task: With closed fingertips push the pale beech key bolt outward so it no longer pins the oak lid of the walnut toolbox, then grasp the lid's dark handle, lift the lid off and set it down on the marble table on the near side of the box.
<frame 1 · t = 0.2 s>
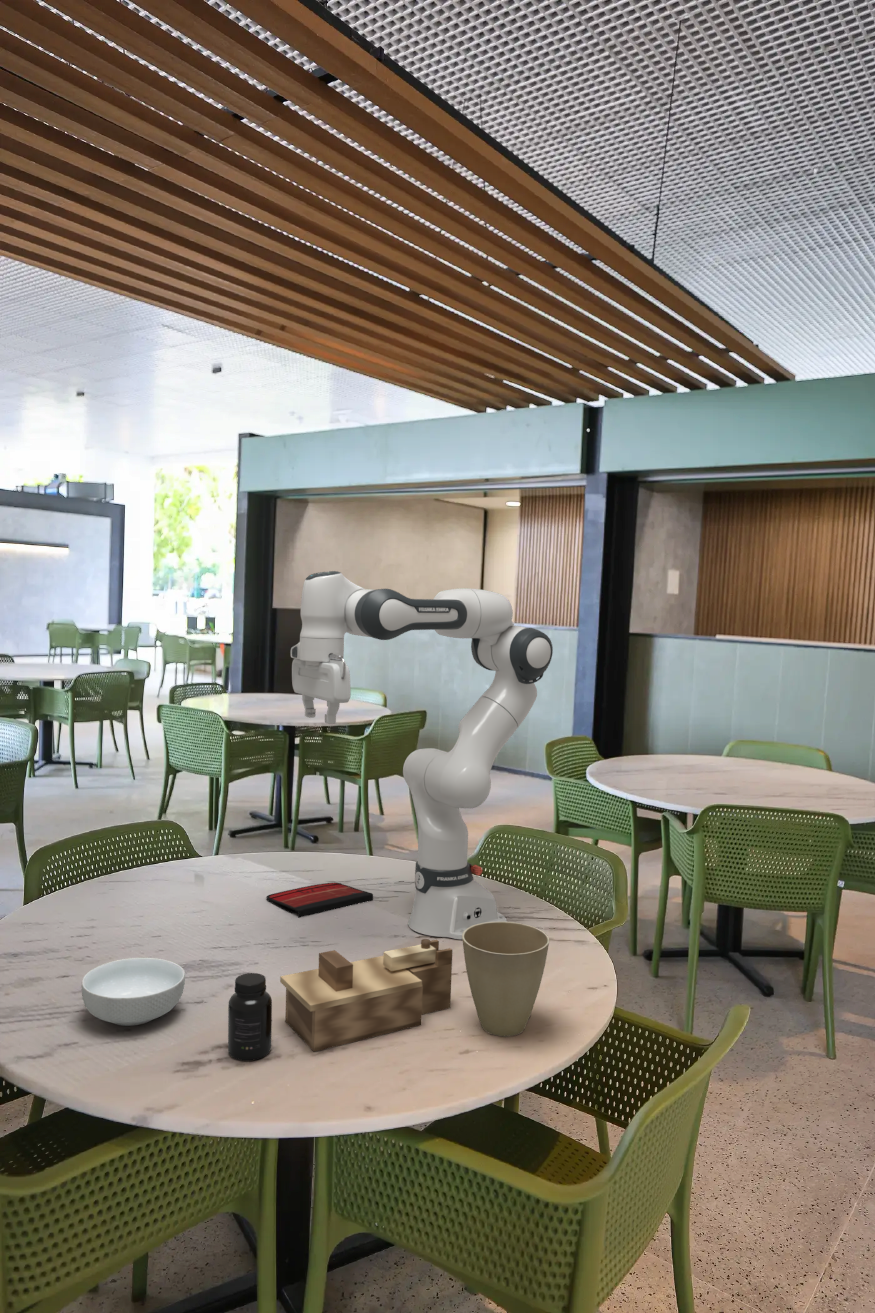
hand: (319, 720, 187), 48 cm above the table, fingers open, 8 cm apart
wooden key: (409, 953, 164), point 10 cm above the table, slide at 0.0 cm
lid: (351, 984, 158), point 7 cm above the table, touching toolbox
cereal bowl: (133, 1017, 159), on the table
binder: (318, 902, 222), on the table
plant pot: (501, 1028, 160), on the table
toolbox: (353, 1023, 159), on the table
supplement bottle: (249, 1052, 148), on the table
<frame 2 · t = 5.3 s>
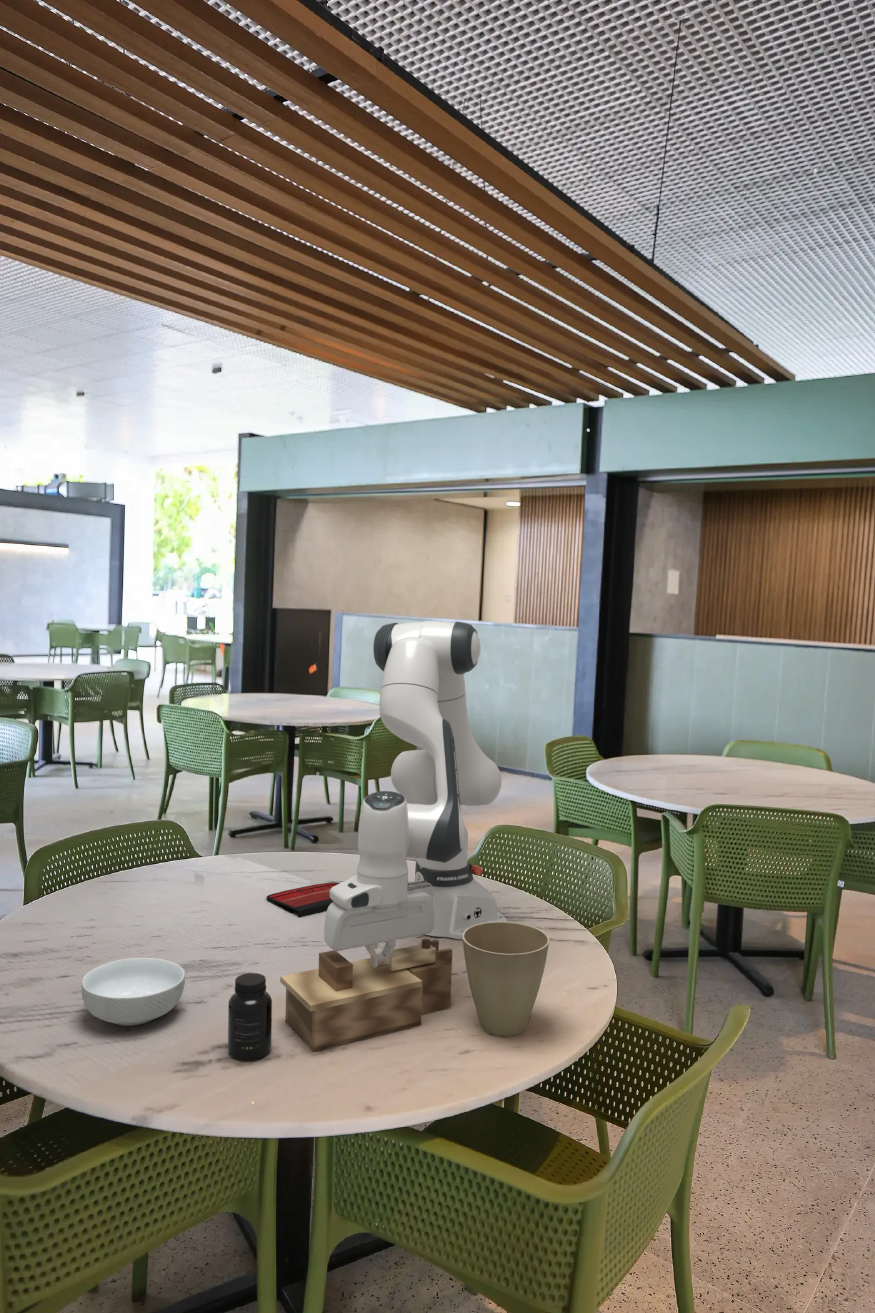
hand: (379, 965, 161), 9 cm above the table, fingers closed
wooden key: (410, 953, 164), point 10 cm above the table, slide at 0.1 cm, touching gripper
everything else where it was.
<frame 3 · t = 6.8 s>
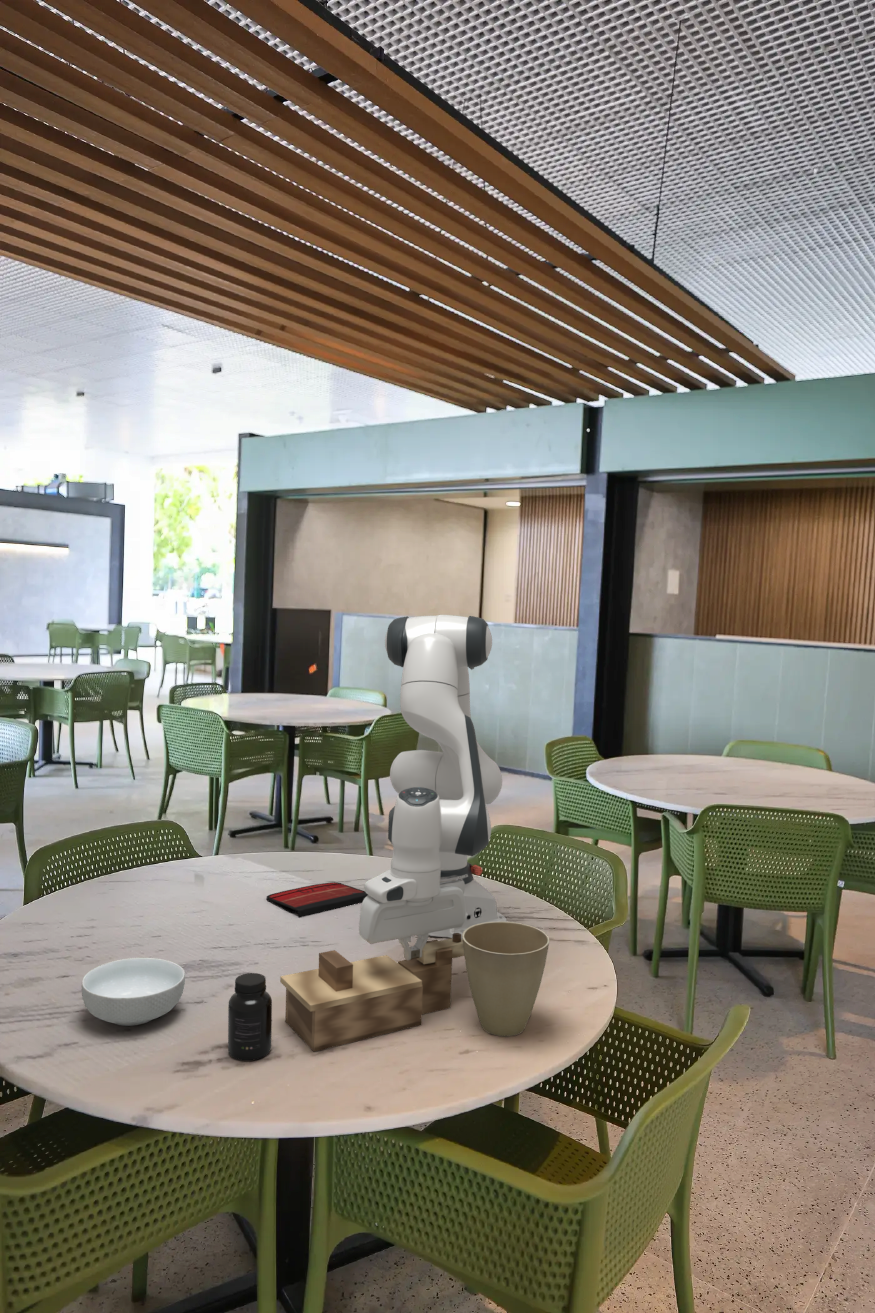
hand: (412, 958, 164), 9 cm above the table, fingers closed
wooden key: (441, 947, 167), point 10 cm above the table, slide at 6.6 cm, touching gripper
everything else where it was.
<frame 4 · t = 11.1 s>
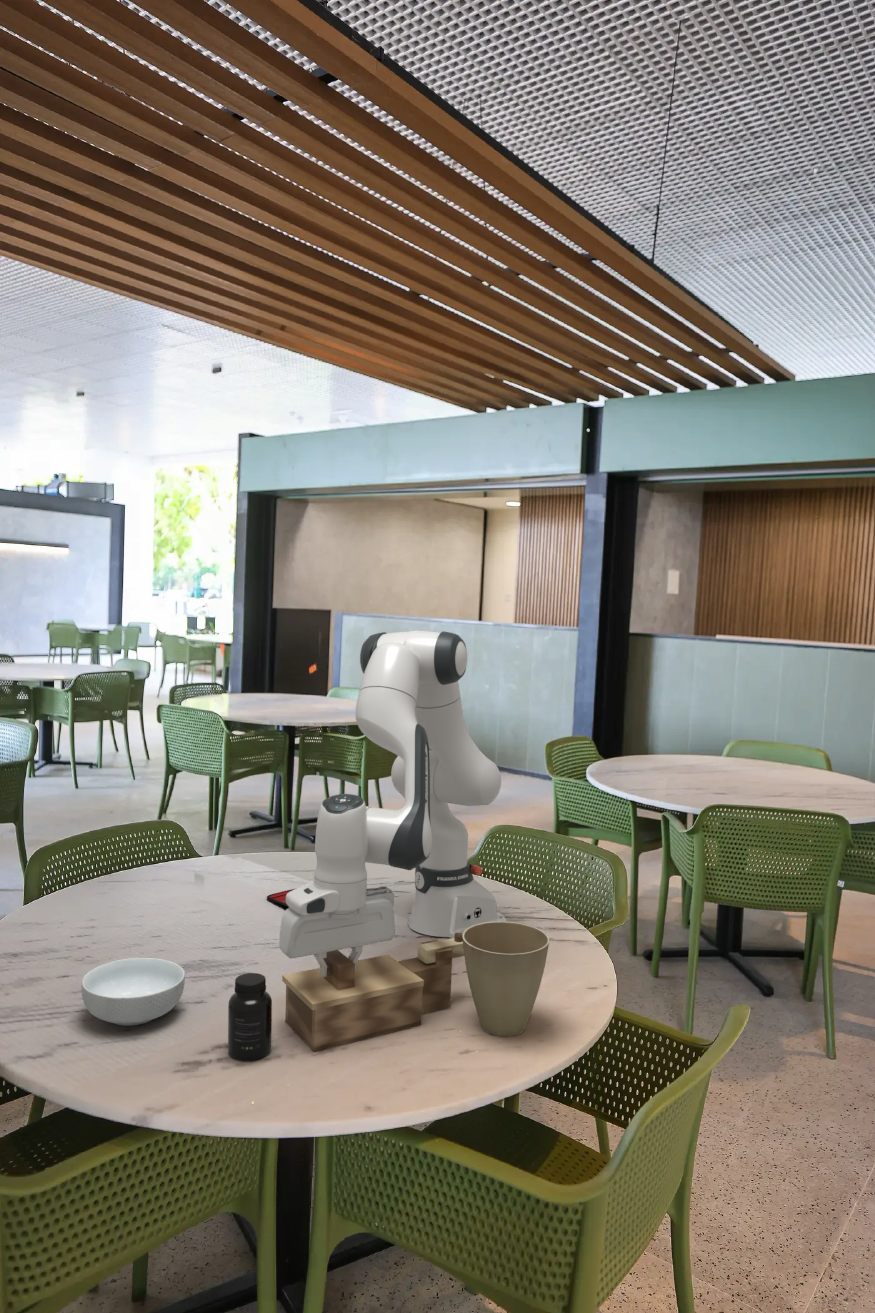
hand: (337, 973, 157), 9 cm above the table, fingers open, 3 cm apart
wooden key: (443, 946, 168), point 10 cm above the table, slide at 7.1 cm
lid: (352, 983, 158), point 7 cm above the table, touching gripper, toolbox
everything else where it was.
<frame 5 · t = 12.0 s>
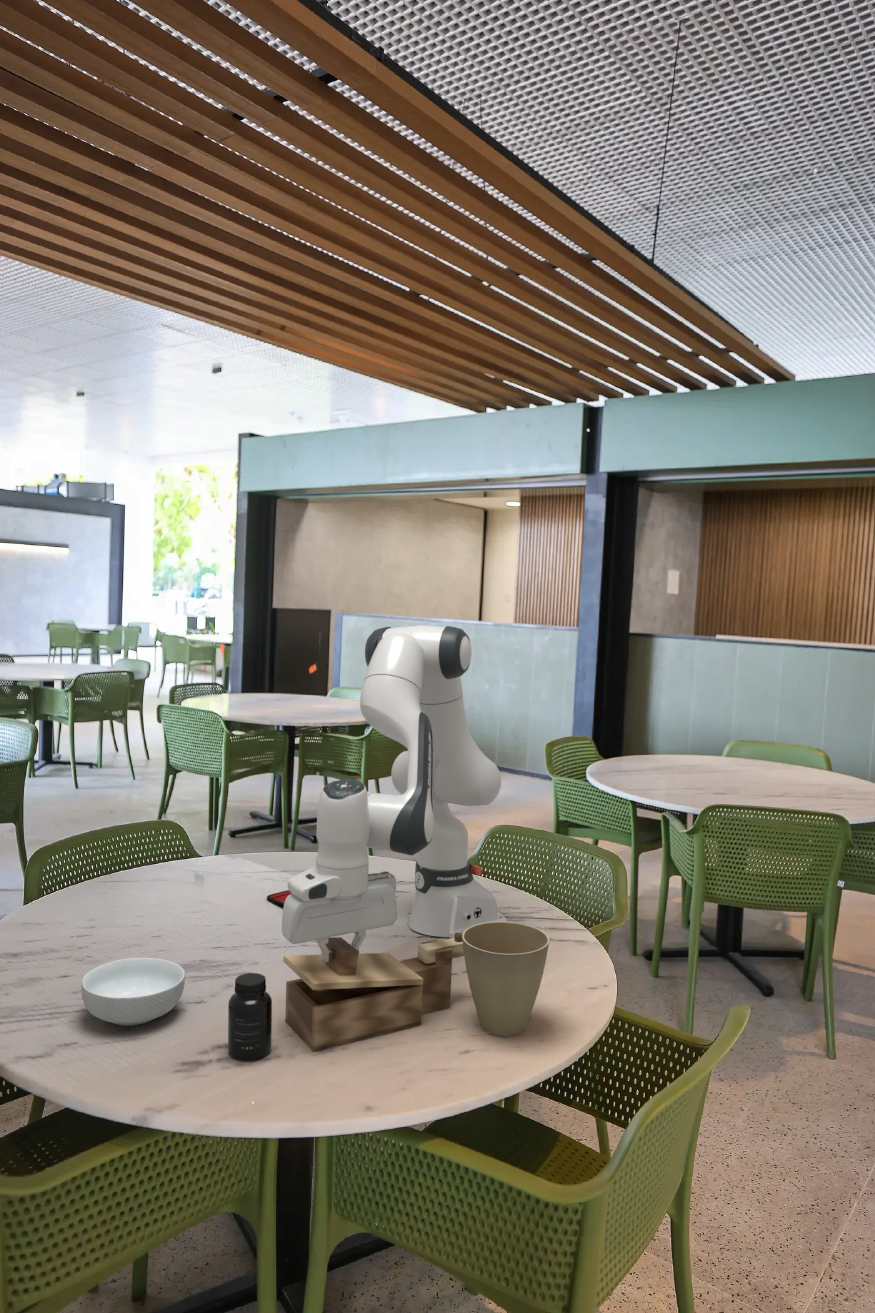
hand: (340, 958, 157), 12 cm above the table, fingers closed on lid, 3 cm apart
lid: (352, 973, 158), point 9 cm above the table, tilted 9°, touching gripper
everything else where it was.
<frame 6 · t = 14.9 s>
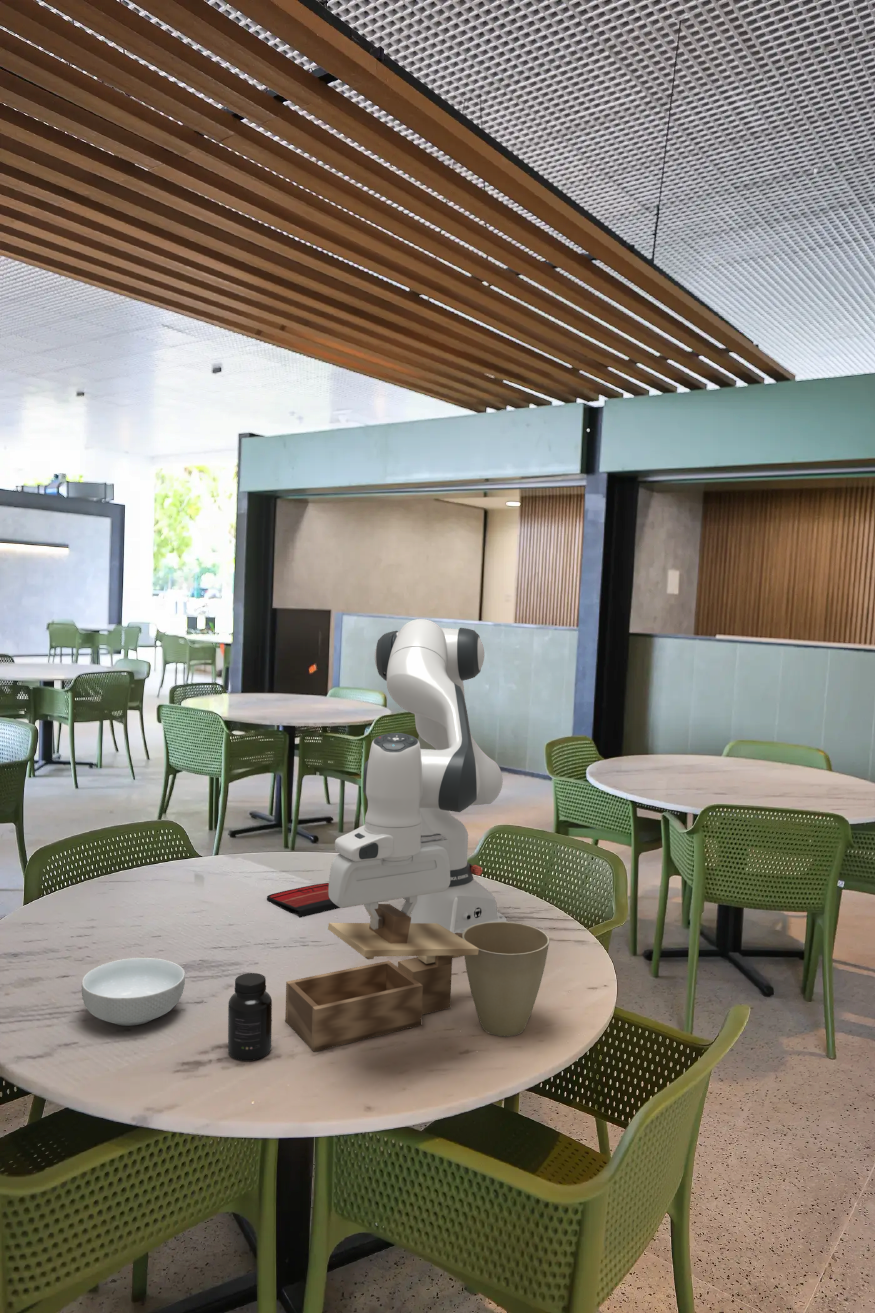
hand: (390, 925, 146), 22 cm above the table, fingers closed on lid, 3 cm apart
lid: (402, 942, 147), point 19 cm above the table, tilted 9°, touching gripper
everything else where it was.
when the fingers open (5 cm above the table, at t = 18.0 s): lid stays where it is, point 1 cm above the table.
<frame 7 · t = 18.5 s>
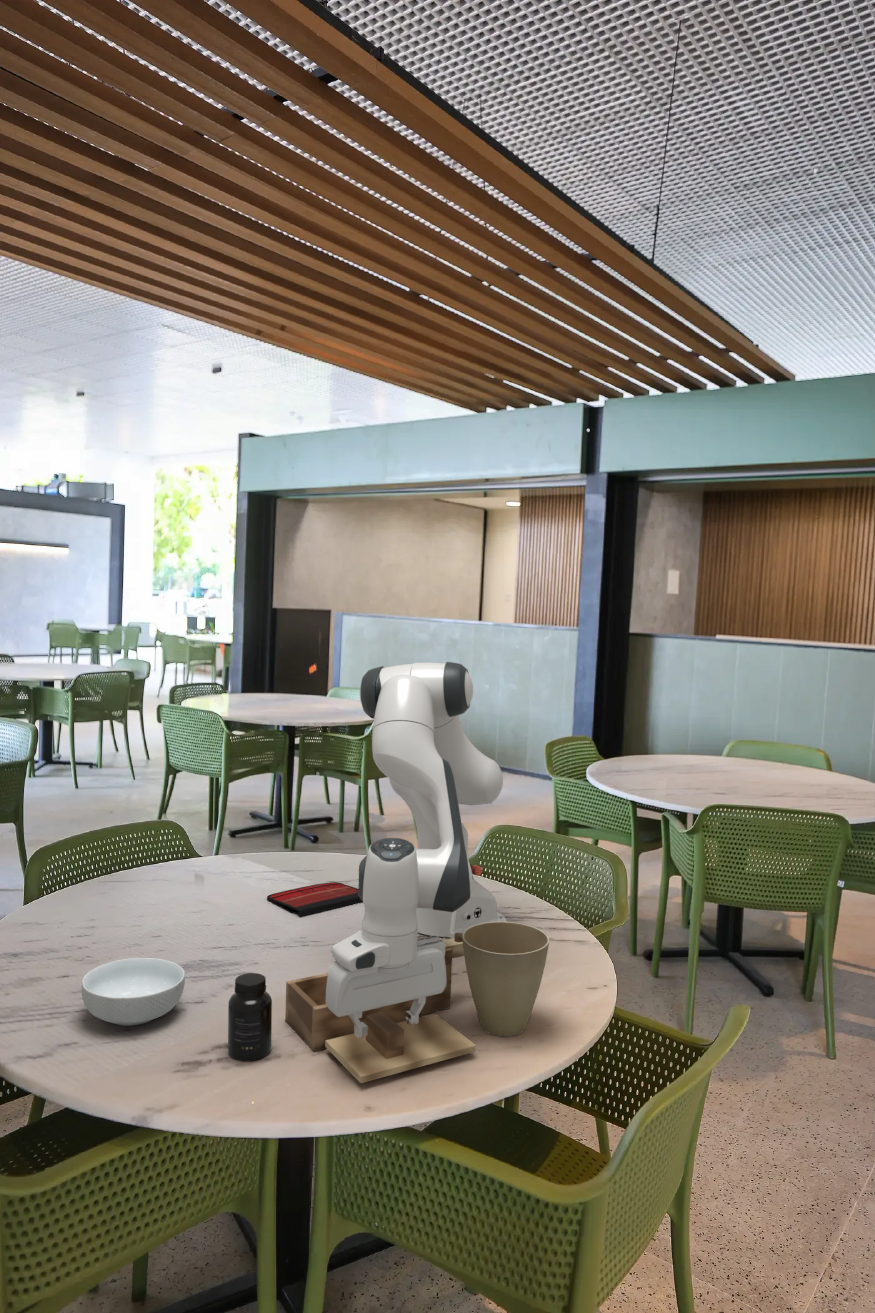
hand: (386, 1029, 147), 5 cm above the table, fingers open, 8 cm apart
lid: (400, 1049, 148), point 1 cm above the table
everything else where it was.
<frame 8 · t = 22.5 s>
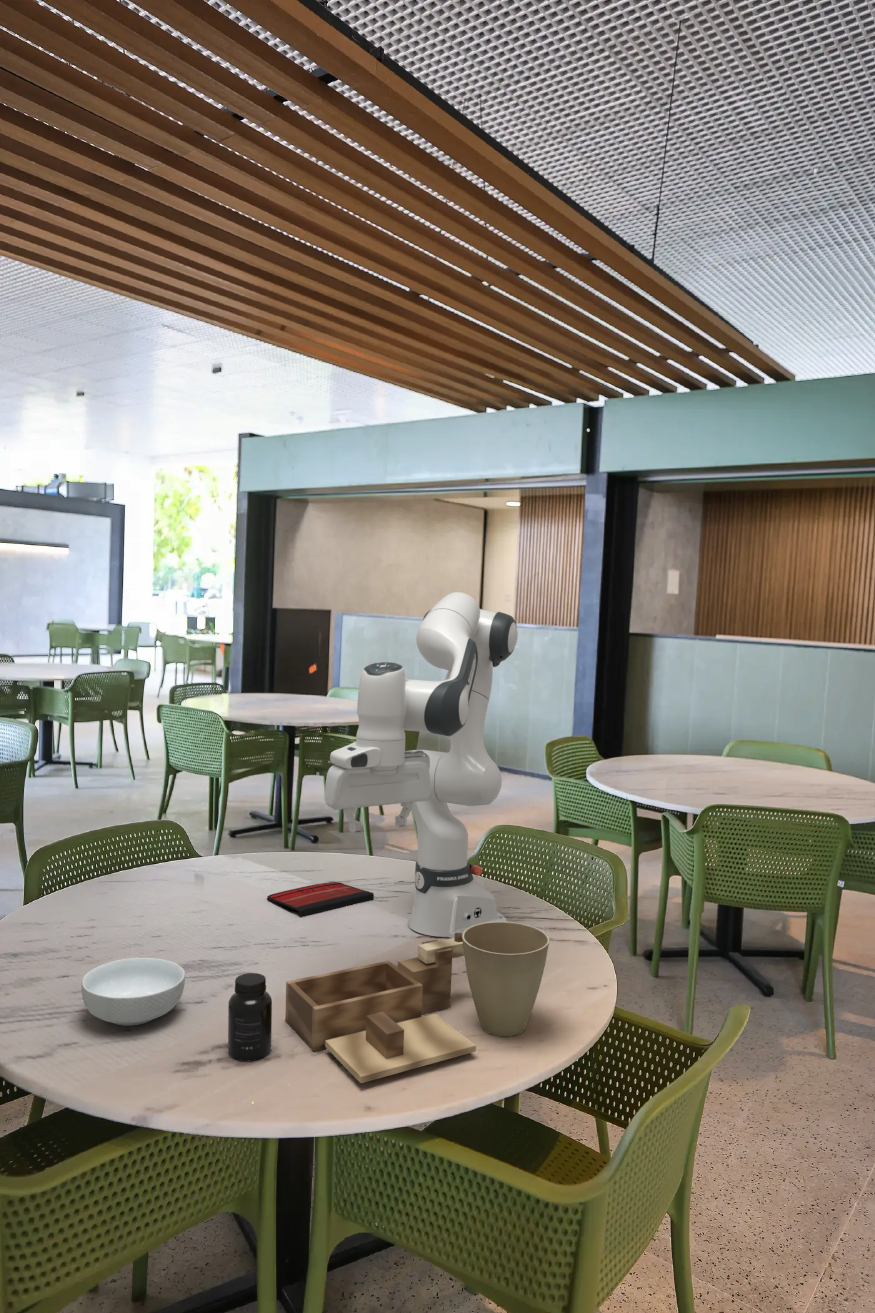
hand: (378, 829, 168), 31 cm above the table, fingers open, 8 cm apart
nothing on the table moved.
at the end: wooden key slide at 7.1 cm; lid inside the target area (0.4 cm from its centre), point 1.1 cm above the table; lid tilted 0° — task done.
